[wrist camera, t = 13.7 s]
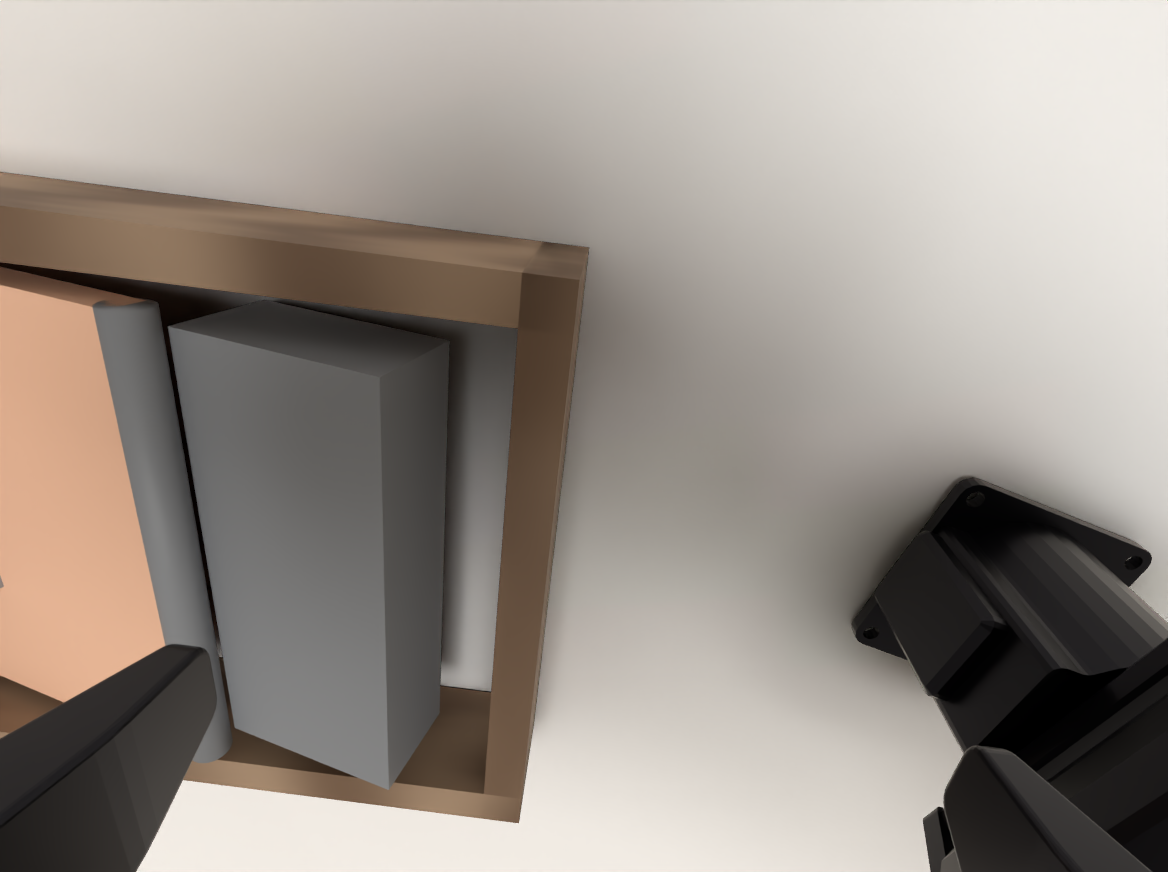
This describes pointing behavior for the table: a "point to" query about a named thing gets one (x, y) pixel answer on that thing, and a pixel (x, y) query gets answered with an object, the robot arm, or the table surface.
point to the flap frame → (383, 283)
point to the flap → (227, 512)
